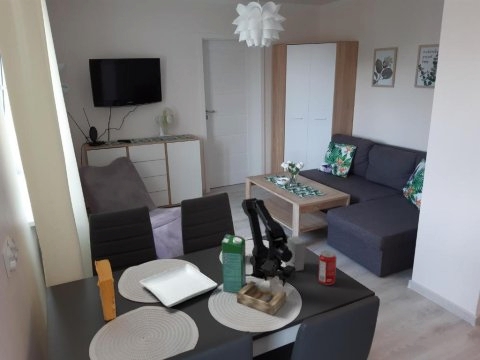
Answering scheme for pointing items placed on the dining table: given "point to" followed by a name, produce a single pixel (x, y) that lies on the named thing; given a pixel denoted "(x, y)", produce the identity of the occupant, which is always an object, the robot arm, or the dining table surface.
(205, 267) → the dining table surface
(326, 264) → the red food canister
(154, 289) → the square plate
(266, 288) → the lid
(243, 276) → the milk carton
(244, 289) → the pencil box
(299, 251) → the skincare box
